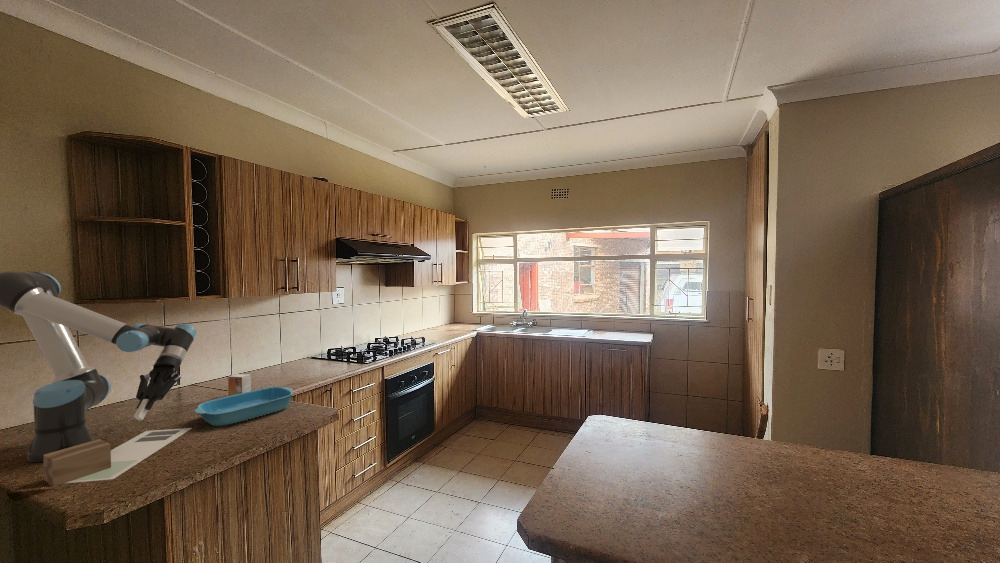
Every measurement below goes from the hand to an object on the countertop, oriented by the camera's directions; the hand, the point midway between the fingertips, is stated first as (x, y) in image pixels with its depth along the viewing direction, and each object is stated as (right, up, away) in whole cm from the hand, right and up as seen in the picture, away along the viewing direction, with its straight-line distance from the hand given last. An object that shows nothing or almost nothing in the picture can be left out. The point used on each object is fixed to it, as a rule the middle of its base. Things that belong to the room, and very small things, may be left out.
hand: (138, 418), depth 133 cm
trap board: (0, -11, -3) cm, 11 cm away
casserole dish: (+16, -11, +34) cm, 39 cm away
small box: (-4, -10, +58) cm, 59 cm away
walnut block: (-2, -11, -17) cm, 20 cm away
